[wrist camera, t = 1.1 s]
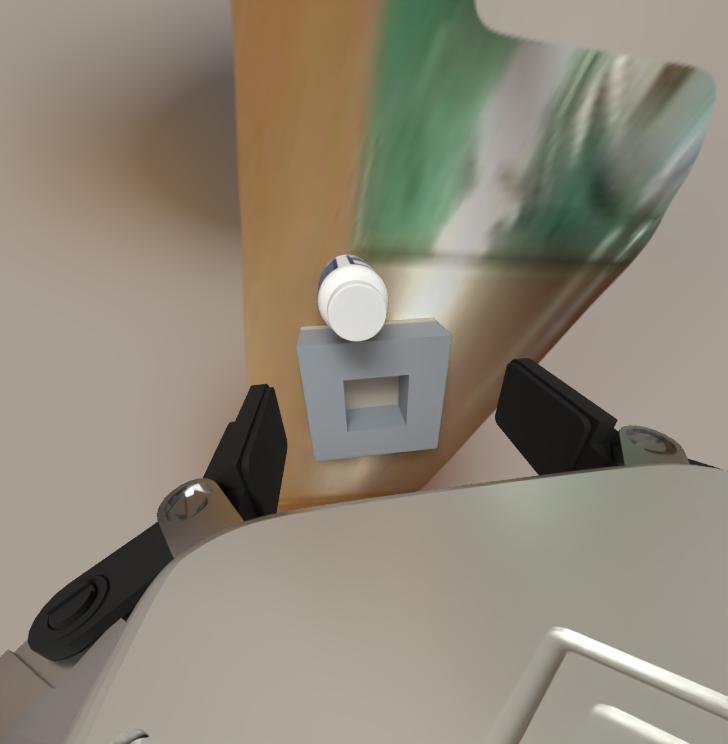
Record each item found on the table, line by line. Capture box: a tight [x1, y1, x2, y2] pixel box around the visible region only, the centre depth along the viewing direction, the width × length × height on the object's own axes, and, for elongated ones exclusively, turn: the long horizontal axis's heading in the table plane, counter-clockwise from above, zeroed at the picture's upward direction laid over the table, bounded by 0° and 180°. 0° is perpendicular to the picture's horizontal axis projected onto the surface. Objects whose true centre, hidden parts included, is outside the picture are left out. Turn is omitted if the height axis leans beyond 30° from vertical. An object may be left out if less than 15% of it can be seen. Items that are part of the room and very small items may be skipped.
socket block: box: [297, 318, 452, 462], centre depth 30 cm, size 14×14×5 cm
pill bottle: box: [318, 255, 388, 342], centre depth 23 cm, size 5×5×10 cm
